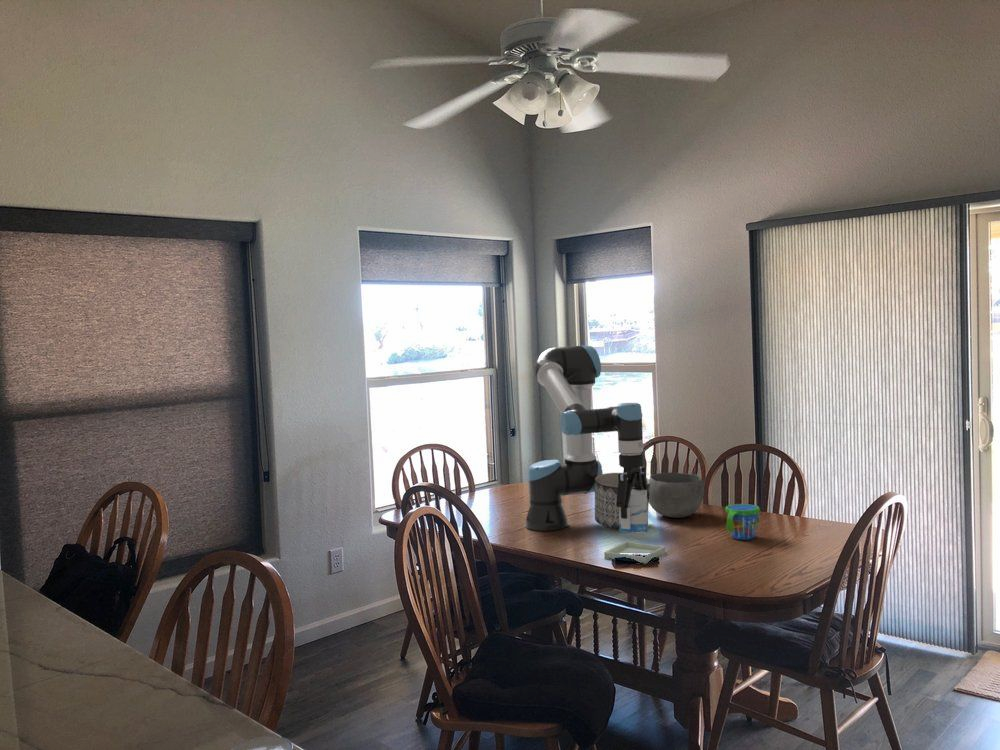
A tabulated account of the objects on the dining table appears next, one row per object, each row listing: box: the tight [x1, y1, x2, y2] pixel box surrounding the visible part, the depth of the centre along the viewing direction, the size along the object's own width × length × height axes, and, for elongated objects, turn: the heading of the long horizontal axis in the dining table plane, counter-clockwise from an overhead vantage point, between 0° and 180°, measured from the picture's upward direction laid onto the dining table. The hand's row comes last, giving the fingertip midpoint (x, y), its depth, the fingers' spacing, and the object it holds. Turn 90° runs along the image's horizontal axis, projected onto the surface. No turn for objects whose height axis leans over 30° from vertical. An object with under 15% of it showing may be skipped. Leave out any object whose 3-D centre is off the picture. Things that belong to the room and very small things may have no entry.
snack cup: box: [725, 503, 761, 541], centre depth 269 cm, size 16×10×10 cm
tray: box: [603, 541, 667, 565], centre depth 255 cm, size 14×14×2 cm
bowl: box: [648, 472, 705, 519], centre depth 303 cm, size 20×20×15 cm
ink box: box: [619, 490, 649, 533], centre depth 254 cm, size 8×8×12 cm
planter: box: [594, 472, 650, 531], centre depth 291 cm, size 19×19×16 cm
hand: (634, 524), depth 254 cm, fingers closed on ink box, 10 cm apart
